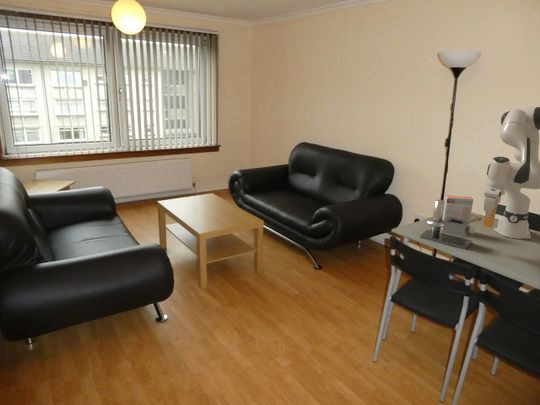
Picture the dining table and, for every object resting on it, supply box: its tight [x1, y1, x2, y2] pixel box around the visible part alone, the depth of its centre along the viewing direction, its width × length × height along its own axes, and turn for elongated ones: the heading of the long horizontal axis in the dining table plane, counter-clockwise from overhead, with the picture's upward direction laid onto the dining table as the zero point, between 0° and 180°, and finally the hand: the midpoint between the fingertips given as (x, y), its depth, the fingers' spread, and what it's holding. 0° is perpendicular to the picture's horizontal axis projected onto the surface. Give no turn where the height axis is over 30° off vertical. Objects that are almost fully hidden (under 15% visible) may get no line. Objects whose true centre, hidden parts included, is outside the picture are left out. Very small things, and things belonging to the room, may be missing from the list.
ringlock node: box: [419, 199, 476, 250], centre depth 215 cm, size 12×25×22 cm, turn 50°
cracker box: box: [441, 194, 474, 232], centre depth 230 cm, size 14×6×21 cm, turn 76°
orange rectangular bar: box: [483, 200, 499, 228], centre depth 201 cm, size 3×4×14 cm
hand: (490, 215), depth 201 cm, fingers closed on orange rectangular bar, 3 cm apart
